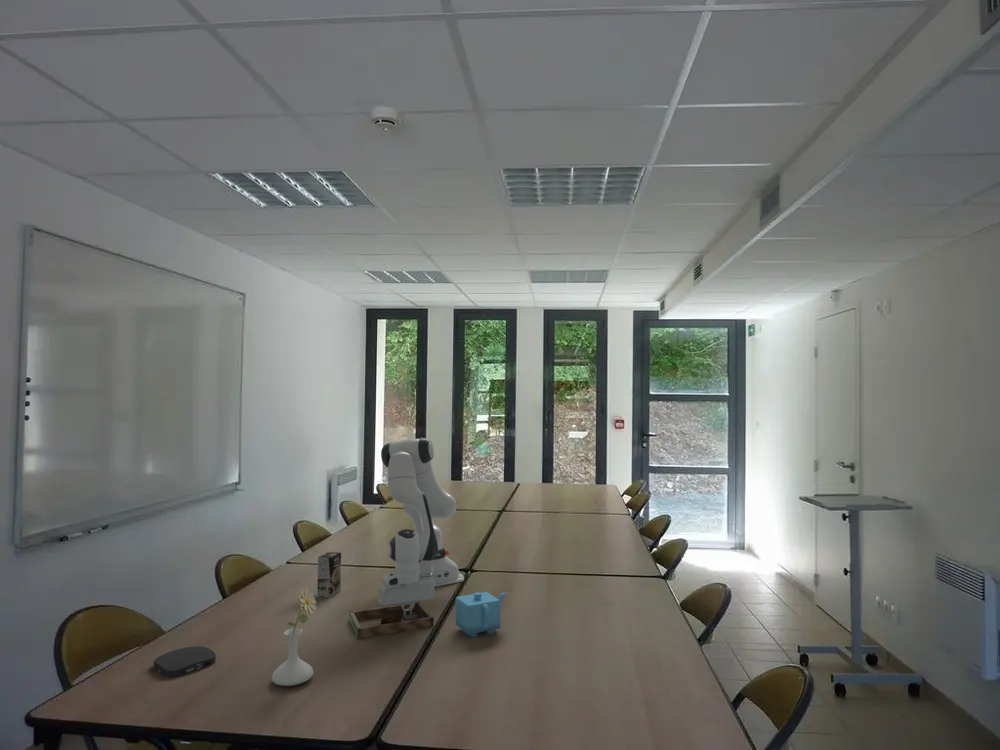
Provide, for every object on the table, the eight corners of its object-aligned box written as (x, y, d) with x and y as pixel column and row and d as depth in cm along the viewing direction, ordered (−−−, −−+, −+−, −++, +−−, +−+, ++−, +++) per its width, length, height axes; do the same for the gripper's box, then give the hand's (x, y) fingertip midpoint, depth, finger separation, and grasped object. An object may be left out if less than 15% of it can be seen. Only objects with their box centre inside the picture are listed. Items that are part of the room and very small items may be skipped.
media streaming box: (198, 651, 191) (198, 641, 191) (220, 664, 182) (220, 654, 182) (149, 667, 180) (149, 657, 180) (169, 681, 170) (169, 670, 171)
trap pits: (416, 612, 225) (416, 611, 225) (427, 625, 212) (427, 623, 212) (401, 614, 222) (401, 613, 222) (410, 627, 210) (410, 626, 210)
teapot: (471, 642, 197) (471, 602, 197) (452, 626, 210) (452, 589, 211) (518, 632, 205) (518, 594, 205) (498, 617, 219) (497, 582, 219)
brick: (392, 619, 217) (392, 606, 218) (402, 620, 217) (402, 607, 217) (380, 630, 207) (380, 616, 207) (390, 631, 206) (390, 617, 206)
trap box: (419, 609, 227) (419, 601, 227) (433, 626, 210) (433, 617, 211) (349, 620, 217) (349, 611, 217) (358, 638, 200) (358, 629, 200)
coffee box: (331, 597, 242) (331, 557, 242) (316, 596, 243) (317, 556, 244) (341, 590, 251) (341, 552, 251) (327, 589, 252) (327, 551, 253)
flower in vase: (289, 694, 162) (290, 601, 163) (262, 683, 168) (263, 594, 169) (326, 675, 173) (327, 588, 174) (300, 666, 179) (301, 582, 180)
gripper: (432, 570, 224) (432, 608, 223) (377, 577, 215) (377, 615, 215) (437, 574, 218) (437, 613, 217) (381, 581, 210) (381, 621, 209)
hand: (407, 614), depth 216 cm, fingers closed
